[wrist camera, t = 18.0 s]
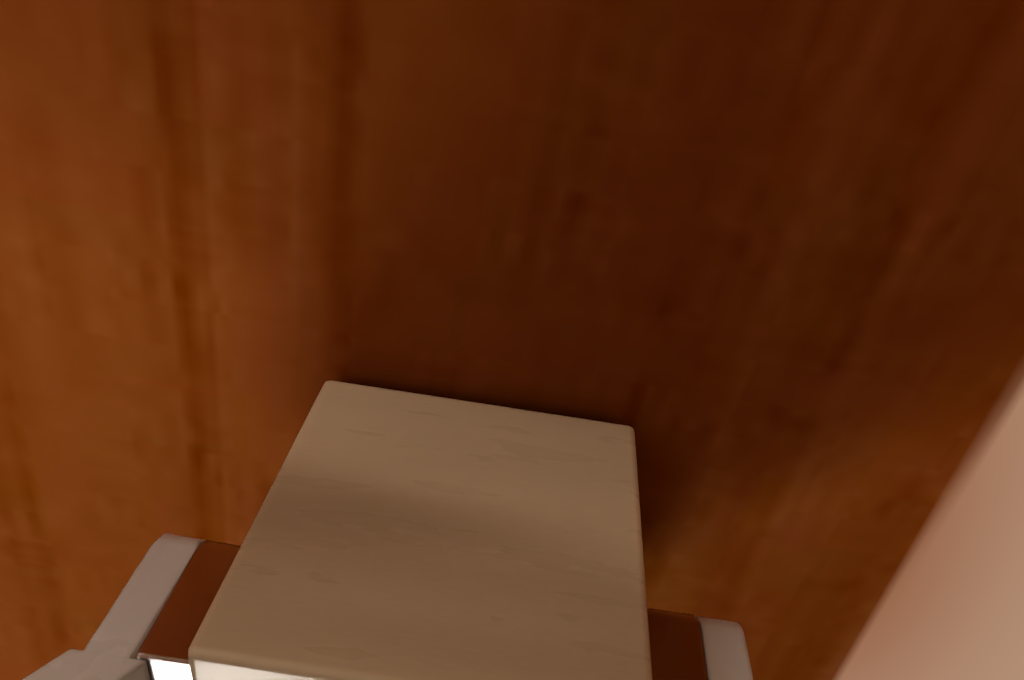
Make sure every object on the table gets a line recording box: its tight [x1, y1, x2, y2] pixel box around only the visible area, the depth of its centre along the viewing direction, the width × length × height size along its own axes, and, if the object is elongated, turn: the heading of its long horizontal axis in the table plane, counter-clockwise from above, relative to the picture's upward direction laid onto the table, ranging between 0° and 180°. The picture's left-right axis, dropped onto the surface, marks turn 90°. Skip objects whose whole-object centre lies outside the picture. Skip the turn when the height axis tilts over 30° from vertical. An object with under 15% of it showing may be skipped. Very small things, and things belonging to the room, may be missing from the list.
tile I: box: [188, 380, 652, 680], centre depth 9 cm, size 4×4×4 cm
